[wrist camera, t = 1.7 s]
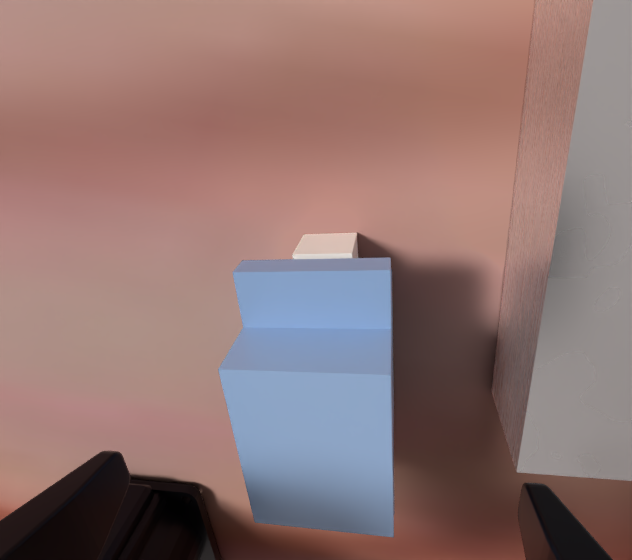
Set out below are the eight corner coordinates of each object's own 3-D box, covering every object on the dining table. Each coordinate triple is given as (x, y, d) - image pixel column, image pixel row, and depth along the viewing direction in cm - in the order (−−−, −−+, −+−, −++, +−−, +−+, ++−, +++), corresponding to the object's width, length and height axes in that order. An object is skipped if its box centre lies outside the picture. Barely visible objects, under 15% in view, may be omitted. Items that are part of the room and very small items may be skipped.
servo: (394, 429, 15) (394, 573, 11) (299, 424, 16) (263, 557, 12) (391, 221, 12) (389, 308, 7) (270, 225, 13) (203, 307, 8)
